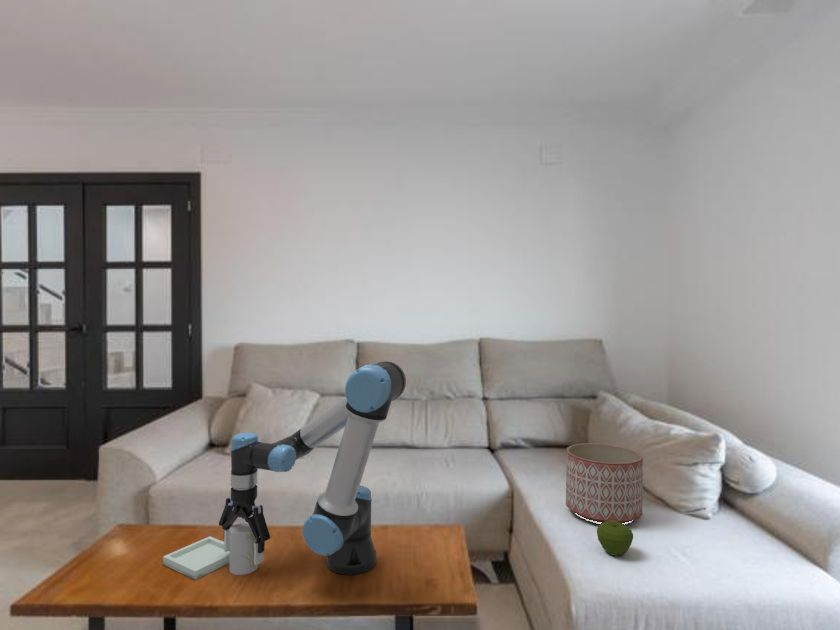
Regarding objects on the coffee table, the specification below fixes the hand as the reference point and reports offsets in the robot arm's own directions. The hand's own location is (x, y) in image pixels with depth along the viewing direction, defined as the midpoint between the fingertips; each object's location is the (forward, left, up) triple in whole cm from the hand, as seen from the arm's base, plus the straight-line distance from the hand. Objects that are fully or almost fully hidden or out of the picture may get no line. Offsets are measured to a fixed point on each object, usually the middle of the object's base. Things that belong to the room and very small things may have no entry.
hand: (243, 556), depth 151 cm
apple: (-92, -70, -4) cm, 116 cm away
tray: (+14, +4, -3) cm, 15 cm away
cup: (0, 0, -4) cm, 4 cm away
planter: (-82, -100, -4) cm, 130 cm away
